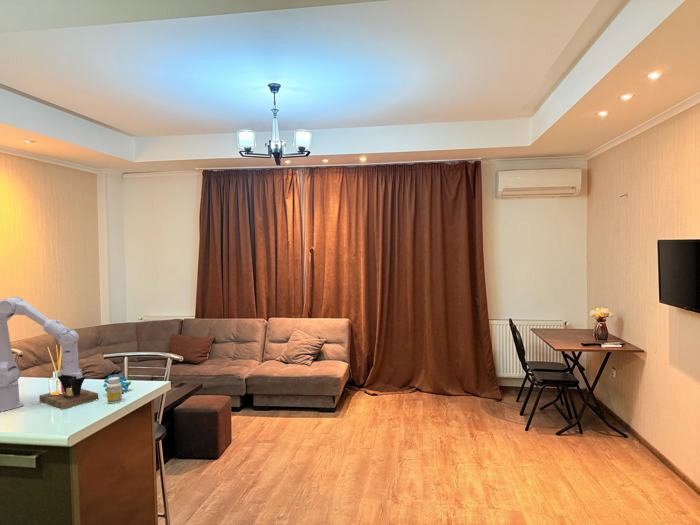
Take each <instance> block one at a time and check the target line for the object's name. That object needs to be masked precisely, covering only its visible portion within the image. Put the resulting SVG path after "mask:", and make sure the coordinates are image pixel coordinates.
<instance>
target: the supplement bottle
mask: <svg viewBox="0 0 700 525" xmlns="http://www.w3.org/2000/svg"><path fill="white" fill-rule="evenodd" d="M107 379H108V378H107ZM108 382H109V384H108V383H107V387H106V388H107V392H106V394H107V395H106V396H107V403H108V404H117V403H120V402H122V401H123V393H122V389H123V388H122V387H121V383H120V382H119V376H117V377H114V376H112V377H111V378H109V379H108Z"/></svg>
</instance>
